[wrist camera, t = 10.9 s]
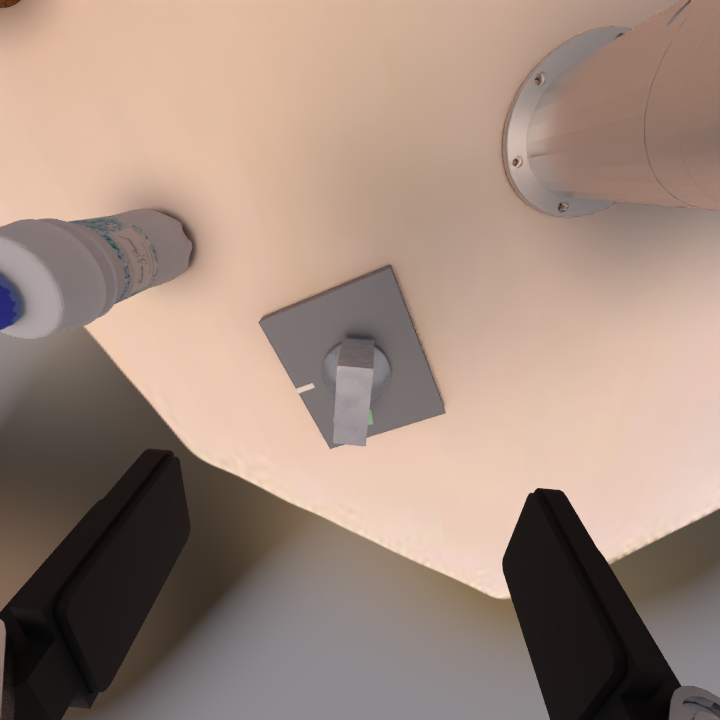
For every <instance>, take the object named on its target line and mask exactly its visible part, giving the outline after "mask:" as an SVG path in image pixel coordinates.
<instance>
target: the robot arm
mask: <svg viewBox="0 0 720 720" xmlns="http://www.w3.org/2000/svg"><path fill="white" fill-rule="evenodd" d="M535 78H539V84H538V85H536V83H535ZM514 159H516V160H517V164H516V165H515V166H513V165H512V161H513V160H514ZM503 160H504V166H505V171H506V174H507V176H508V179H509V181H510V184H511V186H512V187H513V189H514V190H515V192H516V193H517V195H518V196H519V197H520V198H521V199H522V200H523V201H524V202H525V203H526V204H527V205H529V206H531V207H532V208H534V209H536V210H538V211H539V212H543V213H546V214H549V215H553V216H558V217H579V216H584V215H589V214H593V213H595V212H598V211H600V210H603V209H605V208H608V207H609V206H611V205H613V204H614V203H616V202H627V203H638V204H650V205H661V206H672V207H684V208H695V209H706V210H720V0H680V1H678V2H677V3H675V4H673V5H672V6H670V7H668V8H667V9H665V10H663V11H662V12H660V13H658V14H657V15H655V16H653V17H652V18H650V19H648V20H647V21H645V22H643V23H642V24H640V25H638V26H637V27H635V28H633V29H630V28H625V27H613V26H610V27H604V28H597V29H592V30H590V31H587V32H584V33H582V34H579V35H577V36H575V37H573V38H571V39H570V40H568V41H566V42H565V43H563V44H561V45H560V46H558V47H557V48H556V49H554V50H553V51H552V52H551V53H549V54H548V55H547V56H546V57H545V58H544V59H543V60H542V61H541V62H540V63H539V64H538V65H537V66H536V67H535V68H534V69H533V70H532V71H531V73H530V74H529V75H528V77H527V78H526V79H525V81H524V82H523V84H522V85H521V86H520V88H519V90H518V92H517V94H516V96H515V98H514V100H513V102H512V104H511V107H510V110H509V113H508V116H507V119H506V123H505V128H504V134H503ZM559 203H561V207H560V208H559V209H558V205H559ZM189 533H190V521H189V515H188V509H187V503H186V497H185V491H184V485H183V479H182V472H181V466H180V461H179V458H178V457H174V454H173V452H172V451H168V450H159V449H147V450H145V451H144V452H143V453H142V454H141V456H140V457H139V458H138V459H137V460H136V461H135V463H134V464H133V465H132V466H131V467H130V468H129V470H128V471H127V472H126V473H125V474H124V475H123V476H122V477H121V479H120V480H119V481H118V482H117V483H116V484H115V486H114V487H113V488H112V489H111V490H110V491H109V492H108V494H107V495H106V496H105V497H104V498H103V499H101V500H99V501H98V502H97V503H96V504H95V505H94V506H93V507H92V508H91V509H90V510H89V512H88V513H87V514H86V515H85V516H84V517H83V518H82V520H81V521H80V522H79V523H78V524H77V525H76V527H75V528H74V529H73V530H72V531H71V532H70V533H69V534H68V536H67V537H66V538H65V539H64V540H63V541H62V542H61V544H60V545H59V546H58V547H57V548H56V549H55V550H54V551H53V553H52V554H51V555H50V556H49V557H48V558H47V559H46V561H45V562H44V563H43V564H42V565H41V566H40V567H39V569H38V570H37V571H36V572H35V573H34V574H33V575H32V577H31V578H30V579H29V580H28V581H27V582H26V583H25V585H24V586H23V587H22V588H21V589H20V590H19V591H18V593H17V594H16V595H15V596H14V597H13V598H12V599H11V601H10V602H9V603H8V604H7V605H6V606H5V607H4V608H3V610H2V611H1V612H0V720H61V719H62V717H63V715H64V714H65V712H66V710H67V709H68V707H79V708H88V709H90V708H91V705H92V704H93V702H94V700H95V698H96V697H97V695H98V693H99V692H104V691H105V690H106V689H107V688H108V687H109V685H110V684H111V682H112V681H113V679H114V677H115V675H116V673H117V671H118V669H119V668H120V666H121V664H122V662H123V660H124V658H125V656H126V654H127V653H128V651H129V649H130V647H131V645H132V643H133V641H134V639H135V638H136V636H137V634H138V632H139V630H140V628H141V626H142V624H143V623H144V621H145V619H146V617H147V615H148V613H149V611H150V609H151V608H152V605H153V604H154V602H155V600H156V598H157V596H158V594H159V592H160V590H161V589H162V587H163V585H164V583H165V581H166V579H167V577H168V576H169V574H170V571H171V570H172V568H173V566H174V564H175V562H176V560H177V559H178V557H179V555H180V553H181V551H182V549H183V547H184V545H185V544H186V542H187V539H188V536H189ZM502 566H503V573H504V576H505V579H506V582H507V585H508V589H509V592H510V595H511V598H512V601H513V604H514V607H515V611H516V614H517V617H518V620H519V623H520V626H521V629H522V632H523V636H524V639H525V642H526V645H527V648H528V651H529V654H530V658H531V661H532V664H533V667H534V670H535V673H536V676H537V680H538V682H539V686H540V688H541V692H542V695H543V698H544V702H545V705H546V708H547V711H548V714H549V717H550V720H720V698H719V697H717V696H715V695H714V694H712V693H710V692H709V691H707V690H704V689H701V688H698V687H695V686H681V685H680V683H679V681H678V680H677V678H676V676H675V675H674V673H673V671H672V670H671V668H670V666H669V665H668V663H667V661H666V660H665V658H664V656H663V655H662V653H661V651H660V650H659V648H658V646H657V645H656V643H655V641H654V640H653V638H652V636H651V635H650V633H649V631H648V630H647V628H646V626H645V625H644V623H643V621H642V620H641V618H640V616H639V615H638V613H637V611H636V610H635V608H634V606H633V604H632V603H631V601H630V600H629V598H628V596H627V595H626V593H625V591H624V590H623V588H622V586H621V585H620V583H619V581H618V579H617V578H616V576H615V575H614V573H613V571H612V569H611V568H610V566H609V564H608V563H607V561H606V559H605V558H604V556H603V555H602V554H601V552H600V551H599V550H598V549H597V547H596V545H595V544H594V542H593V540H592V539H591V537H590V535H589V534H588V532H587V530H586V529H585V527H584V525H583V524H582V522H581V520H580V519H579V517H578V515H577V513H576V512H575V510H574V508H573V507H572V505H571V503H570V502H569V500H568V498H567V497H566V495H565V494H564V492H562V491H561V490H553V489H543V488H537V489H536V490H535V492H534V493H530V494H529V495H528V497H527V499H526V502H525V504H524V507H523V509H522V512H521V514H520V517H519V519H518V522H517V524H516V527H515V529H514V532H513V534H512V537H511V539H510V542H509V544H508V547H507V549H506V552H505V554H504V557H503V562H502Z"/></svg>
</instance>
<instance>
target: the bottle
mask: <svg viewBox="0 0 720 720" xmlns="http://www.w3.org/2000/svg"><path fill="white" fill-rule="evenodd" d="M191 251H192V242H191V241H190V240H189V239H188V238H187V237H186V236H185V234H184V232H183V230H182V224H181V223H180V222H179V221H178V220H176V219H174V218H172V217H169V216H167V215H164V214H162V213H160V212H158V211H156V210H152V209H141V210H133V211H128V212H124V213H121V214H117V215H113V216H109V217H99V218H92V219H84V220H77V221H69V222H65V221H61V220H57V219H39V220H33V219H27V220H20V221H16V222H13V223H11V224H8V225H5V226H2V227H0V331H1V332H3V333H5V334H8V335H11V336H14V337H19V338H25V339H33V338H41V337H45V336H48V335H52V334H55V333H58V332H61V331H65V330H69V329H72V328H76V327H81V326H84V325H87V324H89V323H91V322H92V321H94V320H95V319H96V318H99V317H101V316H103V315H104V314H106V313H107V312H108V311H109V310H110V309H111V308H112V306H113V305H114V304H116V303H118V302H120V301H122V300H125V299H127V298H129V297H131V296H133V295H135V294H137V293H139V292H142V291H144V290H146V289H148V288H151V287H154V286H157V285H160V284H163V283H166V282H168V281H171V280H173V279H175V278H176V277H178V276H179V275H181V274H182V273H183V272H184V271H185V270H186V269H187V268H188V266H189V257H190V253H191Z"/></svg>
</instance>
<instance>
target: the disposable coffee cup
mask: <svg viewBox="0 0 720 720" xmlns="http://www.w3.org/2000/svg"><path fill="white" fill-rule="evenodd" d="M18 1H19V0H0V8H2V7H9V6H12V5H14V4H16V3H17V2H18Z"/></svg>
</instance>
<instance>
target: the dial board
mask: <svg viewBox="0 0 720 720" xmlns="http://www.w3.org/2000/svg"><path fill="white" fill-rule="evenodd" d="M259 324H260V326H261V328H262V329H263V331H264V333H265V335H266V336H267V338H268V340H269V342H270V343H271V345H272V347H273V349H274V351H275V352H276V354H277V356H278V358H279V359H280V361H281V363H282V365H283V366H284V368H285V370H286V372H287V374H288V375H289V377H290V379H291V381H292V382H293V384H294V386H295V388H296V390H297V392H298V393H299V395H300V397H301V398H302V400H303V402H304V404H305V405H306V407H307V409H308V411H309V412H310V414H311V416H312V418H313V420H314V421H315V423H316V425H317V427H318V428H319V430H320V432H321V434H322V435H323V437H324V439H325V441H326V442H327V444H328V446H329V448H330V449H332V448H335V447H338V446H341V445H344V444H336V443H333V435H334V415H335V397H334V396H333V395H331V394H330V393H329V391H328V390H327V389H326V387H325V385H324V383H323V380H322V367H323V363H324V360H325V357H326V355H327V354H328V352H329V351H330V350H331V349H332V348H333V347H334V346H336V345H337V344H339V343H341V342H342V341H343V338H353V339H365V340H374V345H376V346H377V347H379V348H380V349H381V350H382V351H383V352H384V354H385V355H386V357H387V358H388V361H389V364H390V374H391V375H390V382H389V385H388V387H387V389H386V390H385V392H384V393H383V394H382V395H381V396H380V397H379V398H377V399H376V400H374V401H372V402H370V408H369V418H368V428H367V437H370V436H373V435H377V434H380V433H383V432H386V431H390V430H393V429H396V428H399V427H402V426H406V425H409V424H412V423H415V422H419V421H422V420H425V419H428V418H432V417H435V416H438V415H441V414H444V413H446V412H445V409H444V405H443V403H442V400H441V398H440V395H439V392H438V390H437V387H436V384H435V382H434V379H433V377H432V374H431V371H430V369H429V366H428V363H427V361H426V358H425V355H424V353H423V350H422V348H421V345H420V342H419V340H418V337H417V334H416V332H415V329H414V327H413V324H412V321H411V319H410V316H409V313H408V311H407V308H406V305H405V303H404V300H403V298H402V295H401V292H400V290H399V287H398V284H397V282H396V279H395V277H394V274H393V271H392V269H391V266H390V265H388V266H386V267H384V268H381V269H379V270H376V271H374V272H371V273H369V274H366V275H364V276H362V277H359V278H357V279H354V280H352V281H349V282H347V283H345V284H342V285H340V286H337V287H335V288H332V289H330V290H327V291H325V292H323V293H320V294H318V295H315V296H313V297H310V298H308V299H305V300H303V301H301V302H298V303H296V304H293V305H291V306H288V307H286V308H284V309H281V310H279V311H276V312H274V313H271V314H269V315H266V316H264V317H262V318H261V320H260V321H259Z"/></svg>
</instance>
